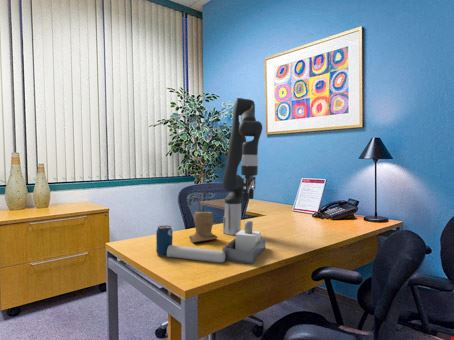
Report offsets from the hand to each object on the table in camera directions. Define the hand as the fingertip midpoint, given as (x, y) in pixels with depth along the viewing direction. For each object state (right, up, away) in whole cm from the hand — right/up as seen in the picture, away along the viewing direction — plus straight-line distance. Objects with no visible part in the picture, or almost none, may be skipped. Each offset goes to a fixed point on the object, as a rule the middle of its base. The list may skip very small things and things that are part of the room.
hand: (248, 200), depth 141 cm
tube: (-23, -24, -12) cm, 35 cm away
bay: (-2, -24, -3) cm, 24 cm away
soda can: (-37, -23, -6) cm, 45 cm away
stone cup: (-23, -23, +18) cm, 37 cm away
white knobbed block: (0, -22, +1) cm, 22 cm away
